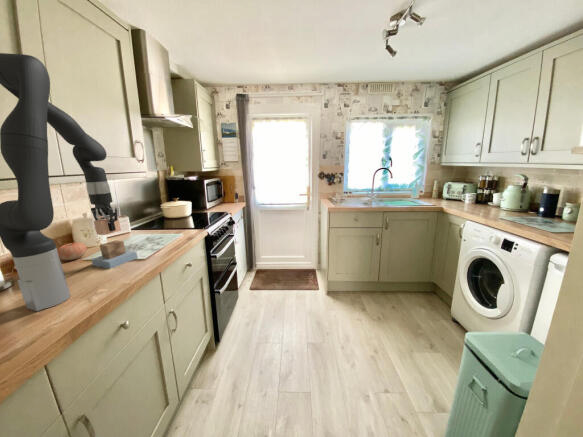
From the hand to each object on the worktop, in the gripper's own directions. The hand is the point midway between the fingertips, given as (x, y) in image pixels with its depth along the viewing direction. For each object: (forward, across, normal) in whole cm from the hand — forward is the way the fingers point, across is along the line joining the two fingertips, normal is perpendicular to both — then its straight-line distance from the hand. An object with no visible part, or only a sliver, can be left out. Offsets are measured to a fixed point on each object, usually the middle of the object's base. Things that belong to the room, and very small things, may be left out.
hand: (108, 230), depth 102 cm
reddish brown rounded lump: (+15, -26, -3) cm, 30 cm away
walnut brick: (+12, 0, 0) cm, 12 cm away
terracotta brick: (+1, 0, 0) cm, 1 cm away
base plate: (+15, 0, 0) cm, 15 cm away
